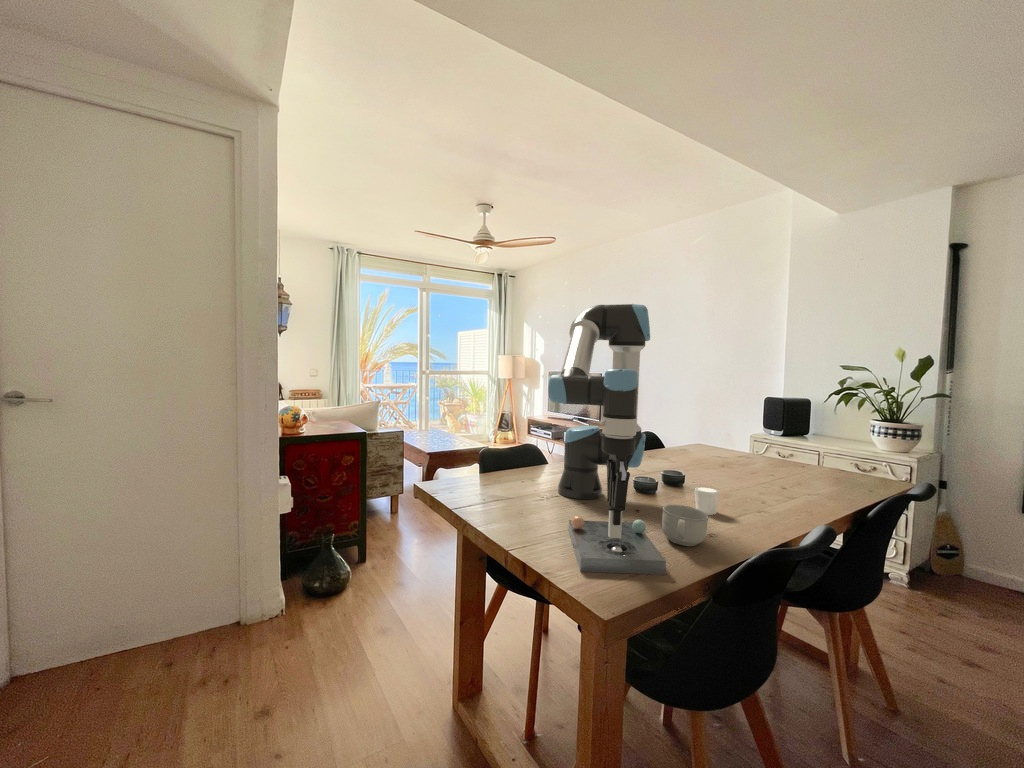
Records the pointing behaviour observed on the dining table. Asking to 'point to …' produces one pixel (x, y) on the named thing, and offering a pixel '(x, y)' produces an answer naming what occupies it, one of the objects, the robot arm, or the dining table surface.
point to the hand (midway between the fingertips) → (614, 536)
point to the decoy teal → (639, 526)
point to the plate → (599, 558)
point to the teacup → (684, 524)
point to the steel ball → (616, 549)
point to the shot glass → (706, 499)
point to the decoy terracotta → (577, 522)
